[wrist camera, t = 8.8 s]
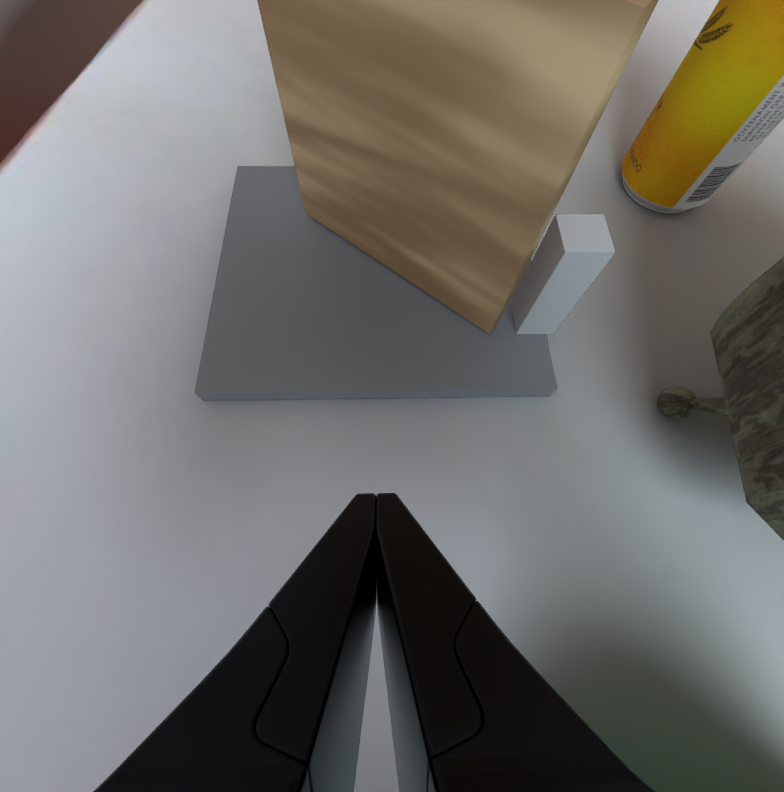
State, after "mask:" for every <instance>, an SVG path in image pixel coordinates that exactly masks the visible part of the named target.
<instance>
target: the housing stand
mask: <svg viewBox="0 0 784 792" xmlns="http://www.w3.org/2000/svg"><path fill="white" fill-rule="evenodd" d="M614 254H615V249H614V245H613V242H612V239H611V236H610V233H609V229H608V226H607V223H606V220H605V217H604V214H556V215H555V217H554V219H553V221H552V223H551V225H550V227H549V229H548V231H547V233H546V235H545V237H544V238H543V240H542V242H541V244H540V246H539V248H538V250H537V252H536V254H535V256H534V258H533V260H532V262H531V259H530V261H529V263H528V265H527V267H526V269H525V271H524V273H523V275H522V277H521V279H520V281H519V283H518V285H517V287H516V289H515V291H514V293H513V295H512V297H511V299H510V301H509V303H508V305H507V307H506V309H505V311H504V313H503V315H502V317H501V319H500V321H499V322H498V324H497V325H496V326H495V327H494V328H493V330H492V331H491V332H490V333H487V332H486V331H484V330H483V329H481V328H480V327H478V326H477V325H475V324H474V323H472V322H471V321H469V320H468V319H466V318H465V317H463V316H461V315H460V314H458V313H457V312H455V311H454V310H452V309H451V308H449V307H448V306H446V305H445V304H443V303H442V302H440V301H439V300H437V299H436V298H434V297H433V296H431V295H429V294H428V293H426V292H425V291H423V290H422V289H420V288H419V287H417V286H416V285H414V284H413V283H411V282H410V281H408V280H407V279H405V278H404V277H402V276H401V275H399V274H397V273H396V272H394V271H393V270H391V269H390V268H388V267H387V266H385V265H384V264H382V263H381V262H379V261H378V260H376V259H375V258H373V257H372V256H370V255H368V254H367V253H365V252H364V251H362V250H361V249H359V248H358V247H356V246H355V245H353V244H352V243H350V242H349V241H347V240H346V239H344V238H343V237H341V236H340V235H338V234H336V233H335V232H333V231H332V230H330V229H329V228H327V227H326V226H324V225H323V224H321V223H320V222H318V221H317V220H315V219H314V218H312V217H311V216H309V215H308V214H306V212H305V207H304V203H303V199H302V194H301V190H300V185H299V181H298V177H297V172H296V168H295V167H263V166H238V167H237V172H236V177H235V183H234V188H233V193H232V198H231V204H230V209H229V214H228V220H227V225H226V230H225V236H224V241H223V246H222V251H221V257H220V262H219V267H218V273H217V278H216V283H215V289H214V294H213V299H212V304H211V310H210V315H209V320H208V326H207V331H206V336H205V341H204V347H203V352H202V357H201V363H200V368H199V373H198V379H197V384H196V389H195V394H196V395H198V396H199V397H200V398H201V399H202V400H203V401H216V400H293V399H370V398H446V397H523V396H550V395H551V394H552V393H553V392H554V391H555V390H556V389H557V386H556V381H555V376H554V371H553V367H552V362H551V357H550V352H549V347H548V342H547V337H546V334H553V333H554V332H555V331H556V329H557V328H558V327H559V326H560V324H561V323H562V322H563V320H564V319H565V318H566V316H567V315H568V314H569V312H570V311H571V310H572V309H573V307H574V306H575V305H576V303H577V302H578V301H579V299H580V298H581V297H582V295H583V294H584V293H585V292H586V290H587V289H588V288H589V286H590V285H591V284H592V282H593V281H594V280H595V279H596V277H597V276H598V275H599V273H600V272H601V271H602V269H603V268H604V267H605V265H606V264H607V263H608V262H609V260H610V259H611V258H612V256H613V255H614Z"/></svg>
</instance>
